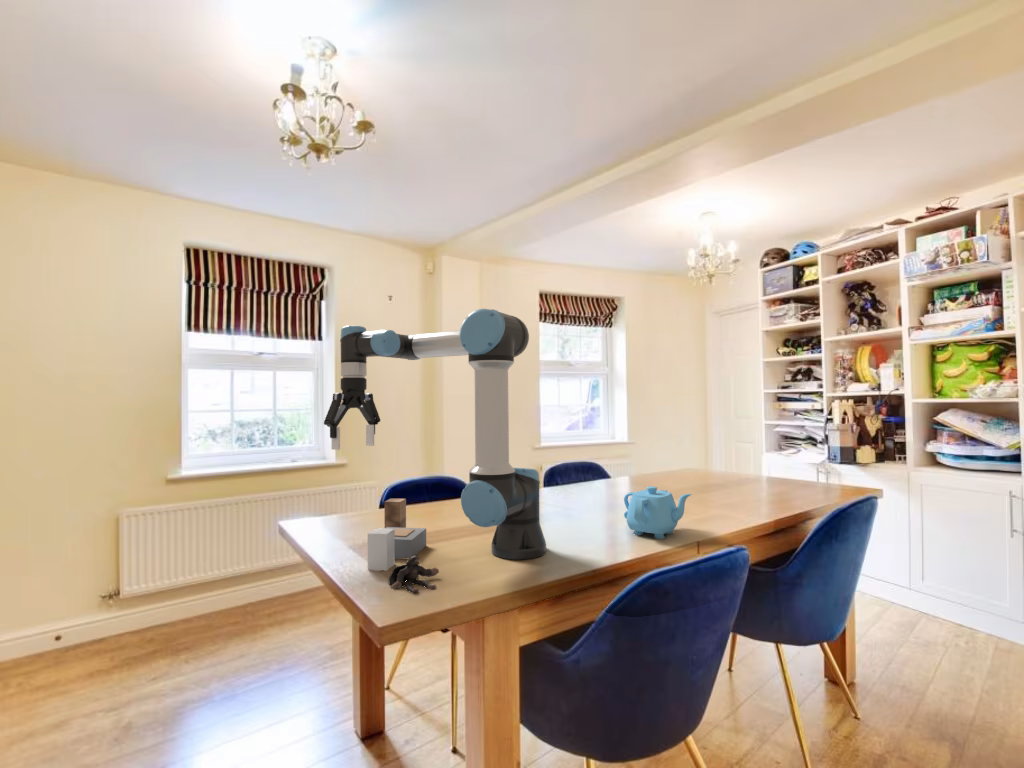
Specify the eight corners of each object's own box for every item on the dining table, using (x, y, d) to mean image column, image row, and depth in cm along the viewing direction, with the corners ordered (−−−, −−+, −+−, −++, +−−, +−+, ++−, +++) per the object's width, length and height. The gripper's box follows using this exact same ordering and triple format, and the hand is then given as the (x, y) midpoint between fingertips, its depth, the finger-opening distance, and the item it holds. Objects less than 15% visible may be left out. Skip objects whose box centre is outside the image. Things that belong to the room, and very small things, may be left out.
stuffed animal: (398, 593, 105) (386, 549, 114) (392, 622, 110) (380, 577, 119) (450, 582, 111) (434, 541, 120) (442, 610, 116) (427, 568, 125)
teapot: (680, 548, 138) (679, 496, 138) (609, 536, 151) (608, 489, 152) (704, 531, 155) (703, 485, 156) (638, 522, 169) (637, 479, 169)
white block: (394, 564, 127) (394, 528, 128) (386, 570, 122) (386, 534, 123) (376, 563, 128) (376, 528, 128) (367, 569, 123) (367, 533, 123)
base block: (426, 545, 143) (426, 527, 143) (411, 558, 131) (411, 538, 131) (386, 544, 145) (386, 526, 145) (368, 557, 133) (368, 537, 133)
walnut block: (406, 533, 156) (405, 498, 157) (400, 538, 152) (400, 501, 152) (390, 533, 157) (390, 498, 158) (384, 537, 152) (384, 501, 153)
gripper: (374, 379, 163) (374, 443, 163) (310, 376, 141) (310, 450, 141) (391, 378, 160) (391, 444, 159) (329, 375, 138) (329, 451, 137)
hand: (353, 447), depth 150 cm, fingers open, 13 cm apart
